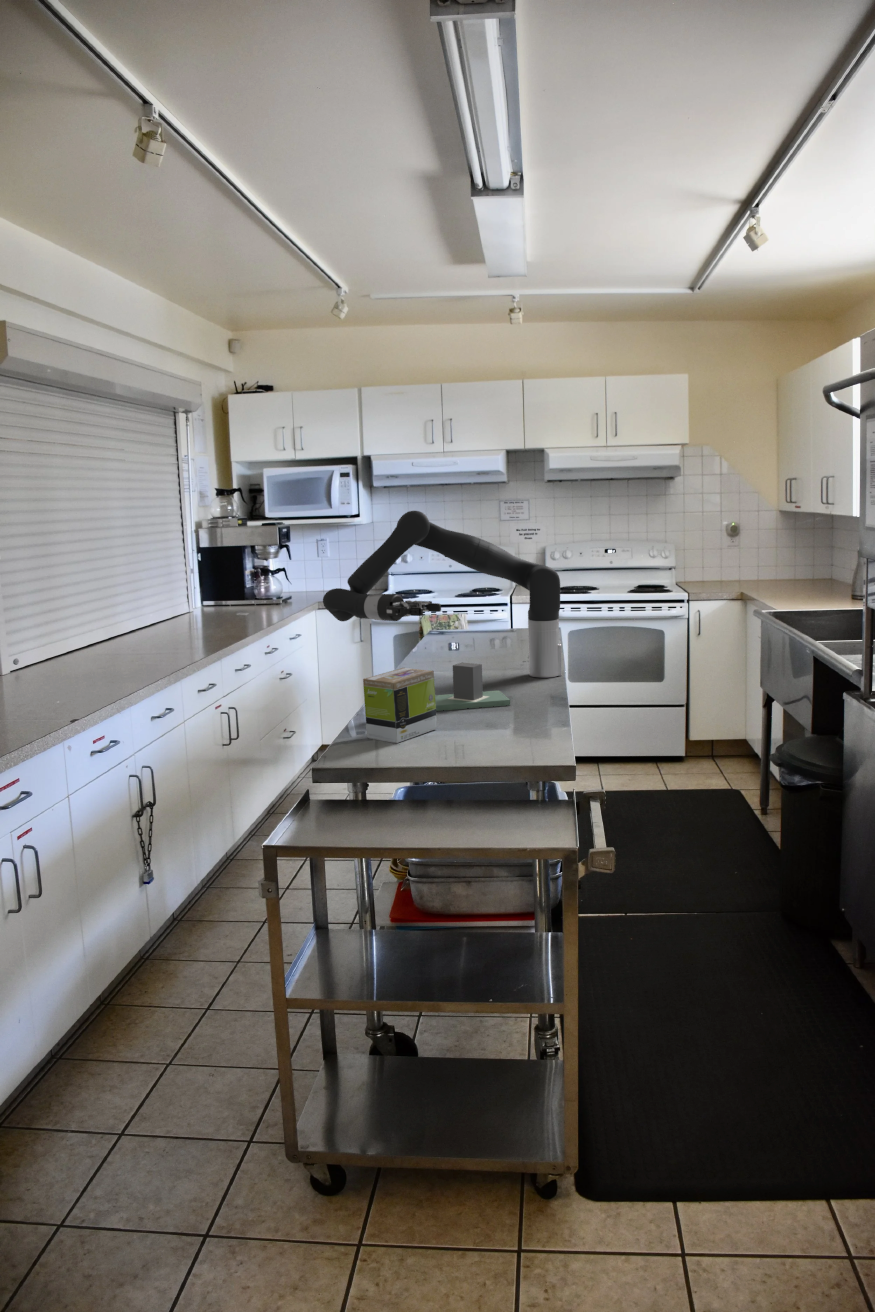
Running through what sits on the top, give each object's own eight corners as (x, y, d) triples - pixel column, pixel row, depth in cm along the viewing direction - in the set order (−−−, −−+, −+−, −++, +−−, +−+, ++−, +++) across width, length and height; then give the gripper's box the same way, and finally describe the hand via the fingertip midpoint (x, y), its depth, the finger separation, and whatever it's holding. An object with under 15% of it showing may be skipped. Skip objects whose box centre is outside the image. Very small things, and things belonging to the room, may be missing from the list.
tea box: (406, 724, 234) (404, 666, 231) (438, 730, 227) (436, 670, 225) (365, 738, 222) (361, 677, 220) (396, 744, 216) (394, 681, 213)
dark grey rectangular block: (453, 698, 254) (452, 665, 252) (462, 694, 257) (461, 662, 256) (473, 700, 250) (472, 667, 248) (482, 697, 254) (481, 664, 252)
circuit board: (499, 695, 261) (498, 679, 261) (510, 705, 250) (509, 688, 249) (428, 701, 258) (427, 685, 257) (436, 711, 246) (435, 694, 245)
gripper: (367, 596, 258) (415, 599, 249) (398, 591, 270) (445, 592, 261) (369, 623, 260) (416, 627, 251) (400, 617, 271) (446, 619, 262)
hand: (431, 609), depth 256 cm, fingers open, 8 cm apart
